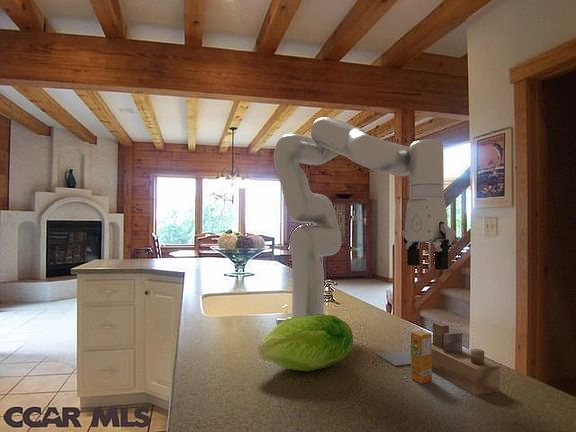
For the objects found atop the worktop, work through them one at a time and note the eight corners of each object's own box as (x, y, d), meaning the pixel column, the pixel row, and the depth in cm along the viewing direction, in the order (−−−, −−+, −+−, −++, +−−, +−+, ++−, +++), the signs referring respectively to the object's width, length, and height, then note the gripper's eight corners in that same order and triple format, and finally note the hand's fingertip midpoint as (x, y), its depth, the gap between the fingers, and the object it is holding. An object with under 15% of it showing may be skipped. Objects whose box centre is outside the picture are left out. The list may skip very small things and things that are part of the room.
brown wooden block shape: (474, 395, 76) (475, 342, 76) (422, 365, 91) (422, 322, 91) (499, 391, 77) (499, 340, 78) (443, 363, 93) (444, 320, 93)
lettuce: (248, 366, 89) (249, 314, 89) (335, 353, 98) (335, 306, 98) (270, 389, 77) (271, 329, 77) (366, 372, 87) (367, 318, 87)
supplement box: (408, 378, 83) (409, 330, 83) (421, 376, 85) (421, 329, 85) (420, 384, 80) (421, 335, 80) (433, 381, 82) (433, 333, 82)
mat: (395, 366, 90) (395, 365, 90) (377, 355, 97) (377, 353, 97) (425, 363, 92) (425, 361, 92) (405, 352, 100) (405, 351, 100)
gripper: (391, 196, 99) (391, 264, 99) (439, 190, 83) (439, 271, 82) (416, 196, 102) (416, 263, 101) (467, 191, 85) (468, 270, 85)
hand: (426, 267), depth 92 cm, fingers open, 9 cm apart
